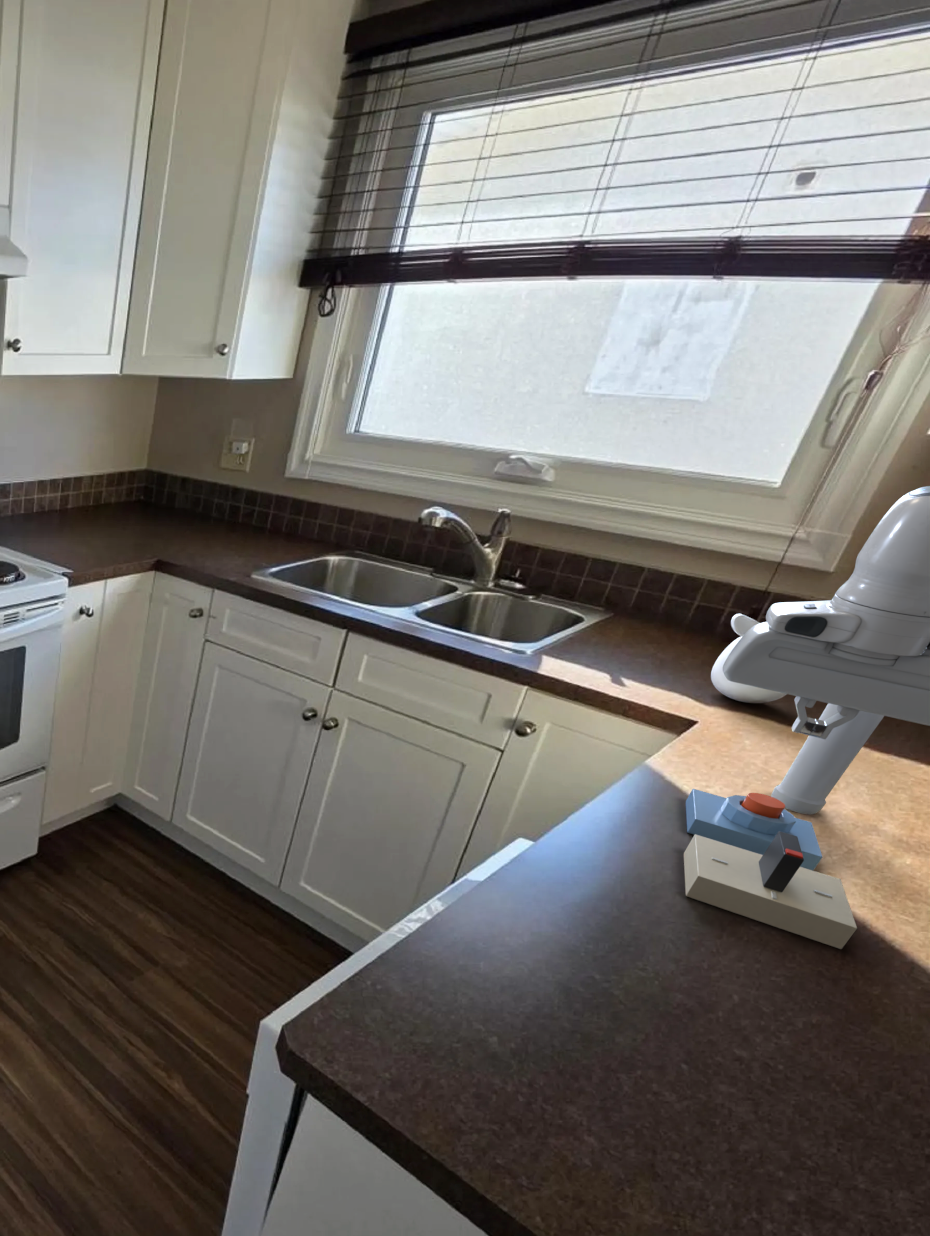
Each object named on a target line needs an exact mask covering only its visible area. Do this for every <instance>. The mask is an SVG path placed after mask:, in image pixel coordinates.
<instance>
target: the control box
mask: <svg viewBox="0 0 930 1236" xmlns="http://www.w3.org/2000/svg"><path fill="white" fill-rule="evenodd" d="M762 856H763V855H761V854H758V853H754V852H751V851H748V850H745V849H741V848H738V847H735V846H732V845H728V844H725V843H722V842H719V841H716V840H712V839H709V838H706V837H703V836H699V835H696V834H695V835H694V834H693V837H692V838H691V840H690V842H689V844H688V845H687V847H686V849H685V850H684V852H683V863H684V864H683V868H684V888H685V897H688V898H690V899H693V900H696V901H698V902H701V903H705V904H707V905H710V906H713V907H716V908H720V909H722V910H725V911H729V912H731V913H734V914H736V915H740V916H743V917H746V918H748V919H752V920H754V921H758V922H761V923H763V924H766V925H769V926H772V927H775V928H778V929H781V930H784V931H786V932H790V933H792V934H795V935H798V936H801V937H804V938H807V939H809V940H812V941H815V942H818V943H822V944H825V945H828V946H831V947H833V948H835V949H839V950H842V949H843V948H844V947H845V945H846V944H847V943H848V941H849V940H850V939H851V937H852V936H853V935H854V933H855V932H856V931H857V929H858V927H857V923H856V921H855V917H854V914H853V912H852V909H851V905H850V903H849V900H848V897H847V893H846V891H845V889H844V885H843V882H842V879H841V878H838V877H836V876H832V875H829V874H825V873H822V872H819V871H816V870H809V869H806V868H803V867H799V869H798V870H797V872H796V873H795V874H794V876H793V877H792V879H791V880H790V882H789V883H788V885H787V886H786V888H785V889H784V891H783V892H779V891H776V890H773V889H770V888H767V887H764V886H763V882H762V877H761V872H760V867H759V861H760V859H761V857H762Z"/></svg>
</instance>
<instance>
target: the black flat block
mask: <svg viewBox="0 0 930 1236" xmlns="http://www.w3.org/2000/svg"><path fill="white" fill-rule="evenodd" d="M803 861H804V858H803V855H802V851H801V848H800V844H799V841H798V837H797V836H794V835H791V834H787V833H784V832H780V831H778V833H777V834H776V836H775V837H774V839H773V841H772V842H771V844H770V845H769V847H768V848H767V850H766V851H765V853H764V854H763V856H762V857H761V859H760V861H759V867H760V872H761V877H762V882H763V886H764V887H767V888H770V889H773V890H776V891H779V892H783V891H784V889H785V888H786V886H787V885H788V883H789V882H790V880H791V879H792V877H793V876H794V874H795V873H796V872H797V870H798V869H799V867H800V866H801V864H802V863H803Z"/></svg>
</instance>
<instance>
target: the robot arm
mask: <svg viewBox="0 0 930 1236" xmlns="http://www.w3.org/2000/svg"><path fill="white" fill-rule="evenodd" d="M765 620H766V621H763V622H759V624H757V625H755V626H753V627H752V628H750V629H749V630H748V631H747V632H746V633H745V634H744V635H743V637H742V638H741V639H740V640H739V642H738V643H737V644H736V645H735V647H734V648H733V650H732V651H731V653H730V654H729V656H728V657H727V659H726V661H725V662H724V665H723V673H724V675H725V677H726V678H727V680H729V681H731V682H736V683H740V684H745V685H749V686H754V687H758V688H763V689H767V690H772V691H776V692H780V693H785V694H787V695H790V696H794V697H795V698H794V699H793V700H794V701H793V702H794V706H795V709H796V713H797V717H796V719H795V721H794V722H793V724H792V725H791V732H793V733H796V734H802V735H806V736H808V737H809V736H813V737H817V738H821V739H826V738H827V737H828V735H829V734H830V732H831V731H832V729H833V728H836V727H838V726H840V725H842V724H844V723H846V722H848V721H850V720H852V719H854V718H855V717H856V715H857V714H858V712H859V711H860V710H861V711H865V712H870V713H874V714H879V715H883V716H884V717H888V718H893V719H897V720H901V721H906V722H910V723H914V724H919V725H924V726H927V727H930V485H927V486H922V487H919V488H916V489H914V490H910V491H909V492H907V493H904V495H902V496H901V497H900V498H899V499H898V500H896V501H895V502H894V503H893V505H892V506H891V507H890V508H889V509H888V511H887V512H886V513H885V514H884V515H883V516H882V518H881V519H880V520H879V522H878V523H877V524H876V526H875V528H874V529H873V531H872V532H871V534H870V535H869V536H868V539H867V540H866V541H865V542H864V544H863V546H862V548H861V549H860V551H859V552H858V554H857V557H856V559H855V565H854V569H853V572H852V574H851V575H850V577H849V578H848V580H846V581H845V582H844V583H843V584H842V585H840V587H838V589H837V590H836V591H835V592H834V595H833V596H832V598H831V599H829V600H811V601H784V602H781V601H780V602H775V603H773V604H771V605H770V607H769V608H768V610H767V611H766V615H765ZM817 702H821V703H826V704H828V703H830V704H834V705H838V706H837V710H838V712H839V713H837V714H835V715H833V716H832V717H830V718H828V719H826V720H824V721H822V720H819V719H818V718H813V717H809V716H808V715H807V714H808V713H807V709H806V708H810V709H812V708H814V707H815V704H816V703H817Z"/></svg>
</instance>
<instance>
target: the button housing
mask: <svg viewBox="0 0 930 1236" xmlns="http://www.w3.org/2000/svg"><path fill="white" fill-rule="evenodd" d="M746 796H747V795H739V794H735V795H730V796H727V797H724V796H720V795H717V794H714V793H710V792H706V791H703V790H700V789H696V788H692V789H691V792H690V793H689V795H688V797H687V798H686V800H685V815H686V832H687V834H690V835H693V836H694V835H695V834H696V835H699V836H703V837H706V838H709V839H712V840H716V841H719V842H722V843H725V844H728V845H732V846H735V847H738V848H741V849H745V850H748V851H751V852H754V853H758V854H761V855H763V854H764V853H765V851H766V850H767V848H768V847H769V845H770V844H771V842H772V841H773V839H774V837H775V836H776V834H777V833H778V831H780V832H784V833H787V834H791V835H794V836H797V837H798V841H799V844H800V848H801V851H802V855H803V858H804V861H803V863H802V864H801V866H800V867H803V868H806V869H809V870H813V871H815V869H816V868H817V866H818V865H819V863H820V862H821V860H822V859H823V854H822V851H821V847H820V845H819V841H818V838H817V835H816V832H815V828H814V826H813V822H811V821H809V820H805V819H802V818H798V817H795V815H794V814H792V813H791V812H790V811H789V810H787V809H786V808H784V810H783V811H782V813H781V814H780V816H779V817H778V818H777V819H776V818H768V817H765V816H761V815H758V814H755V813H753V812H751V811H748V810H746V809H745V808H744V807H742V806H741V805H742V803H743V801H744V800H745V798H746Z"/></svg>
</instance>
